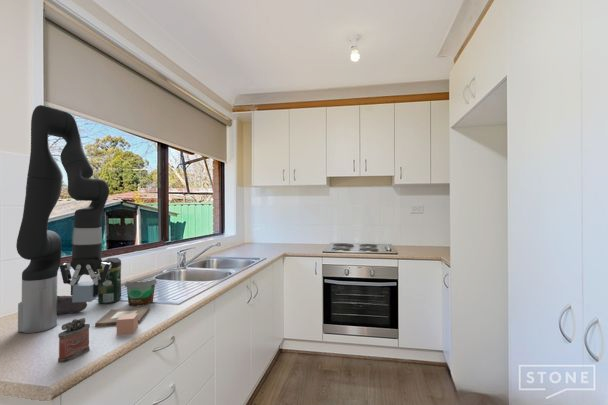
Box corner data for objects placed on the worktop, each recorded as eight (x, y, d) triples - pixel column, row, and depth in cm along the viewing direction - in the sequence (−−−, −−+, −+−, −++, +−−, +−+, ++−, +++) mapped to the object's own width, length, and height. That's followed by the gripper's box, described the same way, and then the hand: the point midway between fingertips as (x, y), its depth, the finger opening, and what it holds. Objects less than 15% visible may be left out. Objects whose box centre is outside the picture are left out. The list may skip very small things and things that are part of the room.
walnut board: (95, 326, 105) (95, 323, 105) (110, 312, 119) (110, 309, 119) (139, 323, 108) (139, 319, 108) (149, 310, 122) (149, 306, 122)
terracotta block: (116, 335, 99) (116, 319, 99) (121, 328, 104) (122, 314, 104) (133, 333, 100) (133, 318, 100) (137, 327, 105) (138, 313, 105)
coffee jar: (103, 298, 137) (104, 256, 137) (123, 296, 139) (123, 256, 139) (94, 305, 127) (95, 260, 127) (116, 303, 129) (116, 260, 129)
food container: (120, 308, 124) (120, 283, 124) (125, 303, 130) (125, 280, 130) (153, 305, 127) (153, 282, 127) (156, 301, 133) (156, 278, 133)
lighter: (83, 348, 90) (84, 314, 90) (92, 350, 89) (93, 315, 89) (54, 361, 82) (55, 325, 82) (63, 363, 81) (64, 326, 81)
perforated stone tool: (89, 309, 122) (90, 292, 122) (83, 314, 117) (83, 296, 117) (46, 312, 119) (46, 294, 119) (37, 317, 113) (38, 298, 114)
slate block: (72, 302, 92) (72, 285, 92) (80, 297, 97) (81, 281, 97) (90, 301, 93) (91, 285, 93) (98, 296, 98) (98, 281, 98)
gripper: (117, 240, 100) (115, 292, 100) (67, 240, 97) (65, 293, 97) (108, 243, 93) (106, 299, 93) (53, 243, 90) (51, 301, 89)
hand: (85, 296), depth 95 cm, fingers closed on slate block, 5 cm apart
